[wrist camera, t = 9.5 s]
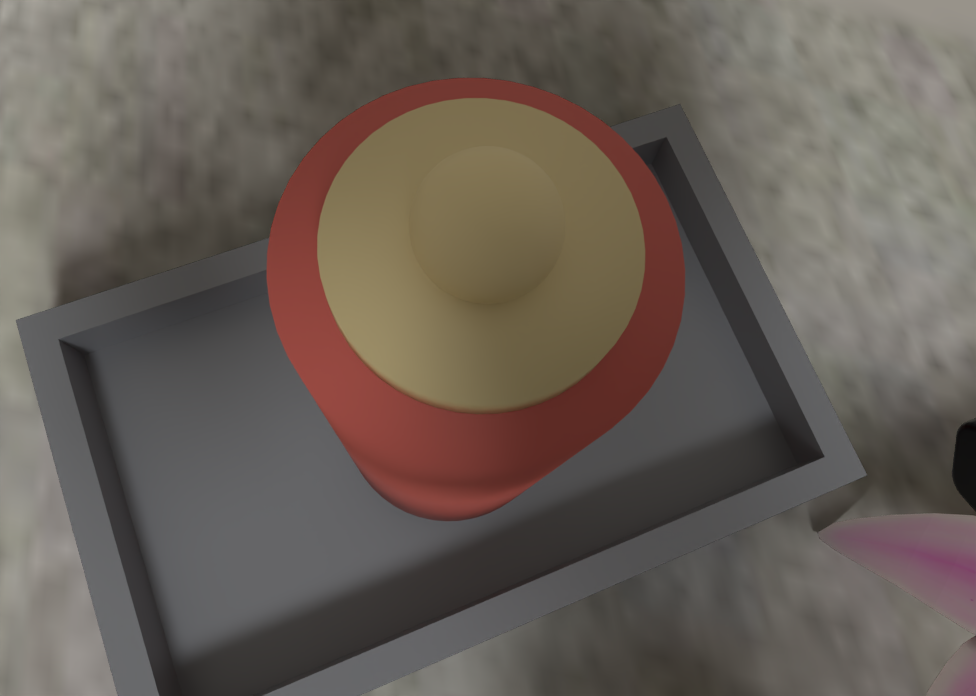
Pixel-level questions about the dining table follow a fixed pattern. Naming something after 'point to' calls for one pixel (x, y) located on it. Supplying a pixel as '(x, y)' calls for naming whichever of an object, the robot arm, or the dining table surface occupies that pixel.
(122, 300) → the tray
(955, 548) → the lily
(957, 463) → the robot arm
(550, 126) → the pepper mill
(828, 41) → the dining table surface
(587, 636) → the dining table surface
